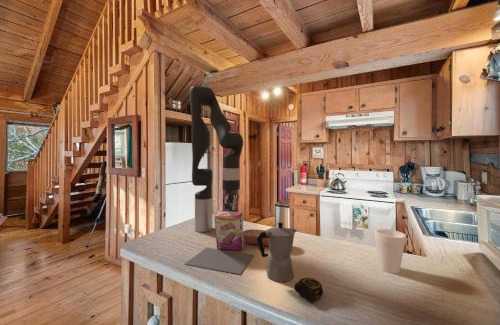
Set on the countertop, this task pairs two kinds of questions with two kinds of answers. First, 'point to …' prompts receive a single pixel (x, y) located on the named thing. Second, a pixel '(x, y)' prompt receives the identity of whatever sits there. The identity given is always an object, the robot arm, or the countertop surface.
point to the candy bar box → (229, 230)
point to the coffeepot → (278, 252)
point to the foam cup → (390, 249)
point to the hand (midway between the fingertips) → (231, 218)
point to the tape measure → (309, 288)
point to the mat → (221, 260)
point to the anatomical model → (254, 236)
